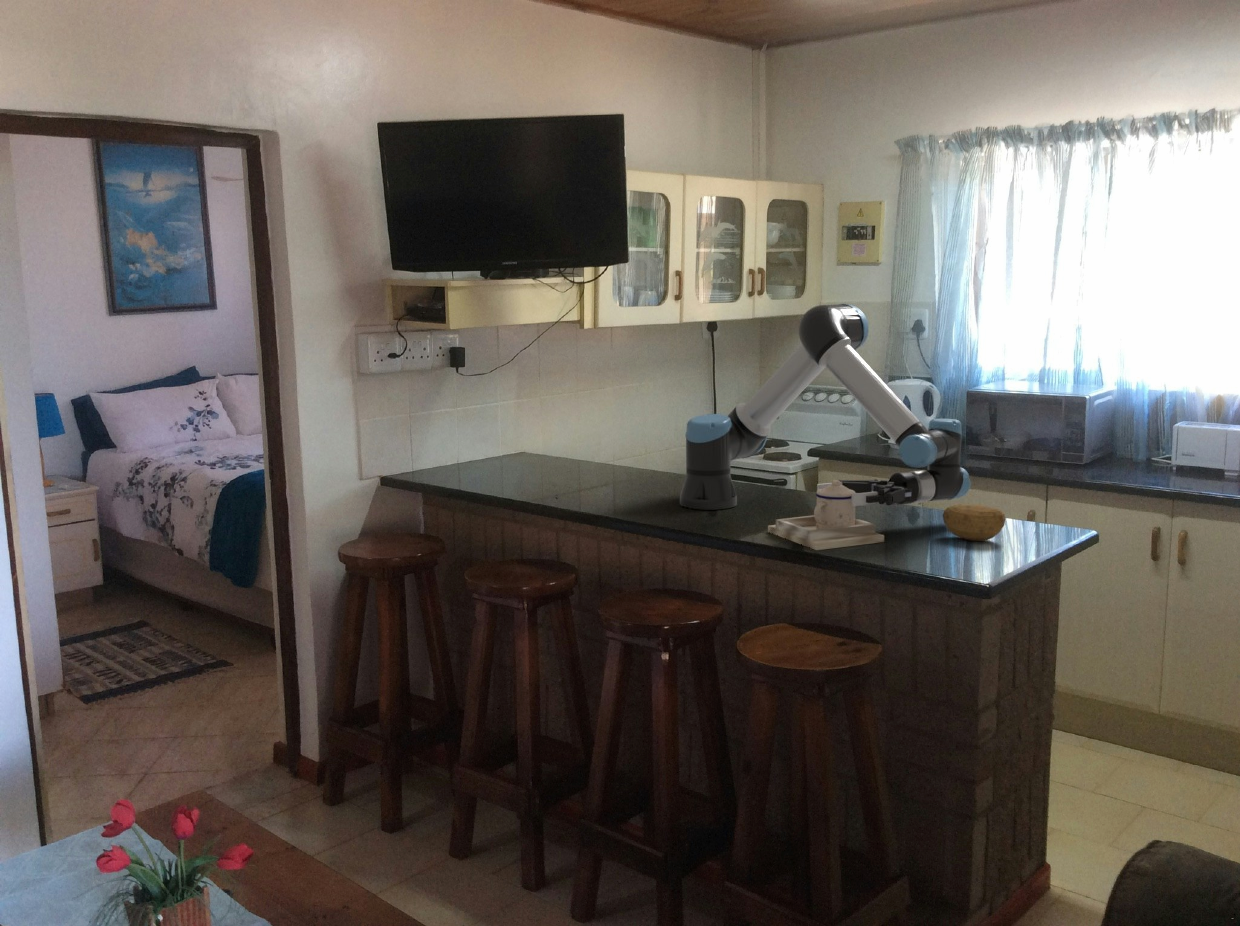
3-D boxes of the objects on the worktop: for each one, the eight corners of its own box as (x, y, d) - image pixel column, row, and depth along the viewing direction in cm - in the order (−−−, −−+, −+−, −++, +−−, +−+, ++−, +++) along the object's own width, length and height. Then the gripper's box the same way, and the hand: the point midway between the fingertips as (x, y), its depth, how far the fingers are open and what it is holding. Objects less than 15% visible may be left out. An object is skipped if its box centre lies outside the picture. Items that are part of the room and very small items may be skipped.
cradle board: (768, 531, 254) (768, 517, 253) (832, 524, 261) (832, 510, 260) (816, 550, 236) (816, 534, 235) (883, 541, 243) (884, 526, 242)
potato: (954, 531, 252) (955, 498, 251) (1011, 541, 242) (1013, 506, 241) (932, 538, 246) (934, 504, 244) (991, 548, 236) (993, 512, 234)
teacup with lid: (831, 525, 254) (832, 476, 252) (863, 531, 247) (864, 480, 245) (798, 533, 246) (799, 482, 244) (831, 539, 239) (832, 487, 237)
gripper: (945, 512, 245) (867, 521, 236) (877, 494, 267) (804, 501, 259) (946, 480, 243) (868, 487, 235) (878, 464, 266) (805, 470, 258)
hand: (834, 495), depth 247 cm, fingers open, 13 cm apart
